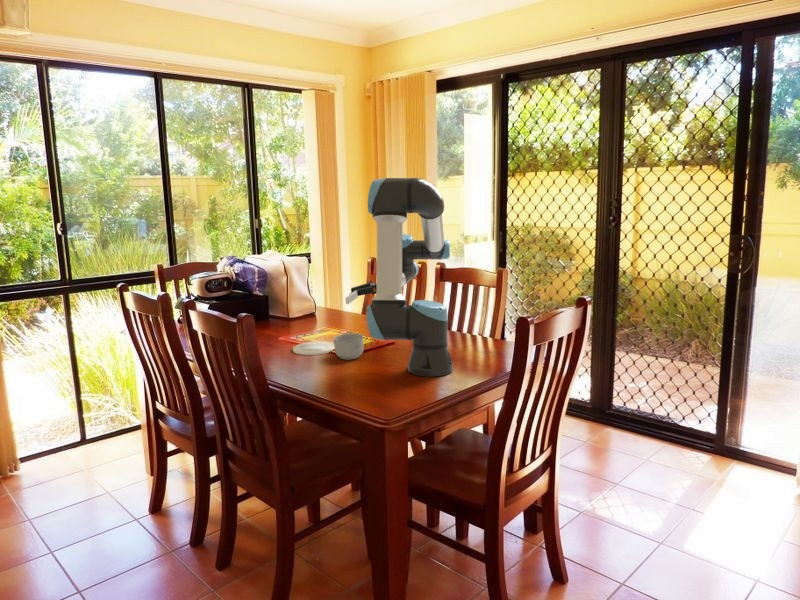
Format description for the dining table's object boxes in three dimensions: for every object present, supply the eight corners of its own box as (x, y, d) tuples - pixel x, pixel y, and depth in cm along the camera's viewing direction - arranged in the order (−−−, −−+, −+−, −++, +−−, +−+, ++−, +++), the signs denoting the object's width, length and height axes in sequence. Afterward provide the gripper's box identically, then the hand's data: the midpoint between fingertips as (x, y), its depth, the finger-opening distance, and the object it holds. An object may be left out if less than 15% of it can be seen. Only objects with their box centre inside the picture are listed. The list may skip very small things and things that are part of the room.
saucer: (341, 351, 225) (341, 348, 225) (301, 357, 218) (301, 354, 218) (325, 342, 239) (325, 339, 239) (287, 347, 232) (287, 344, 231)
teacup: (359, 362, 211) (358, 340, 209) (330, 361, 213) (329, 339, 211) (369, 351, 224) (368, 331, 223) (341, 350, 226) (340, 330, 225)
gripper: (420, 296, 228) (391, 320, 212) (366, 285, 240) (335, 306, 224) (419, 279, 225) (389, 302, 209) (365, 268, 237) (333, 289, 221)
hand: (361, 304), depth 217 cm, fingers open, 13 cm apart
